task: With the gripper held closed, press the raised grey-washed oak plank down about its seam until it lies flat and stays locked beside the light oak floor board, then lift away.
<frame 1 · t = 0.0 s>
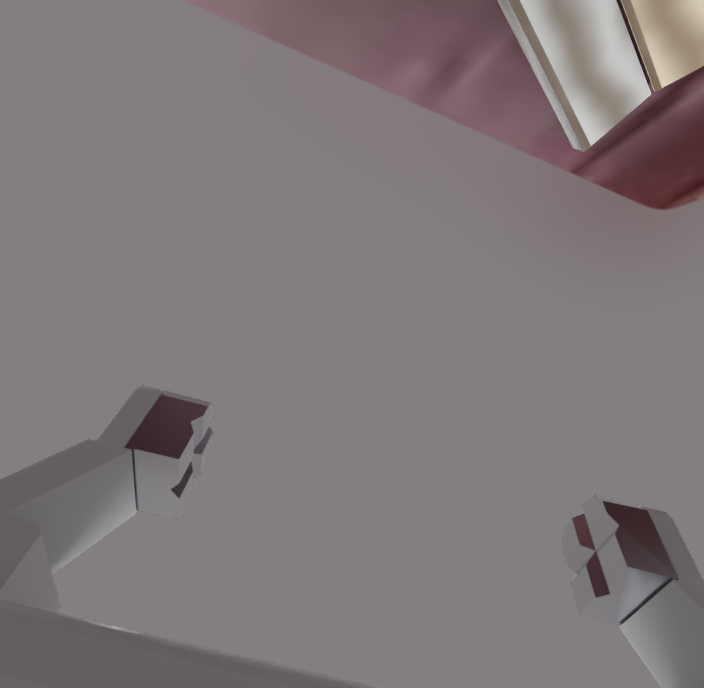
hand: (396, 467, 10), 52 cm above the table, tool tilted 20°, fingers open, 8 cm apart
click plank: (568, 26, 45), point 3 cm above the table, hinge at 30.0°
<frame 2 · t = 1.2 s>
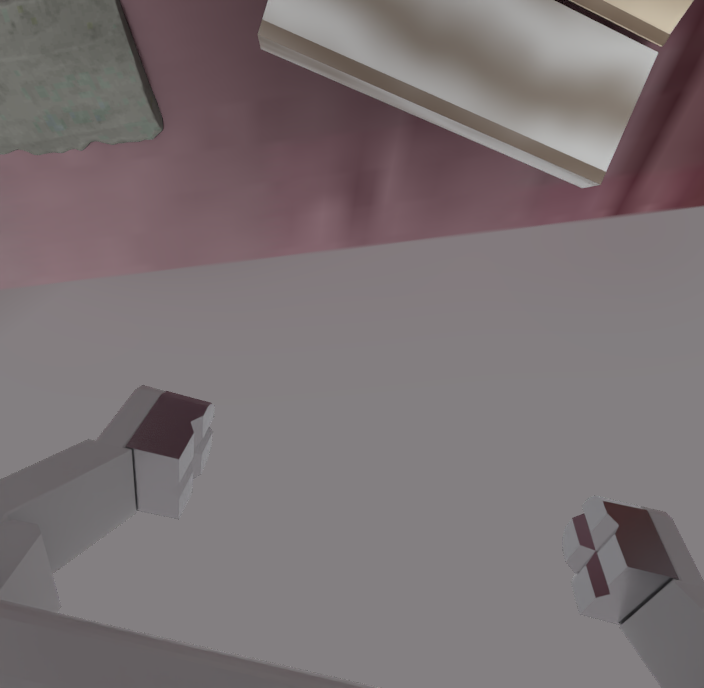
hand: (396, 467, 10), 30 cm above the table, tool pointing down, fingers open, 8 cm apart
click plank: (460, 50, 28), point 3 cm above the table, hinge at 30.0°
stone slab: (11, 84, 36), on the table
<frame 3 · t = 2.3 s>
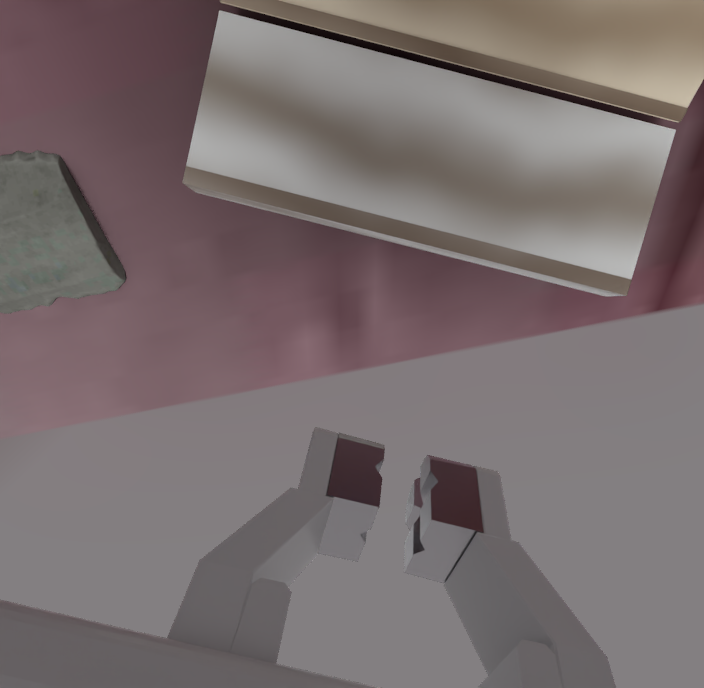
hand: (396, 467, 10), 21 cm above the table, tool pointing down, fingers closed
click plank: (424, 162, 24), point 3 cm above the table, hinge at 30.0°
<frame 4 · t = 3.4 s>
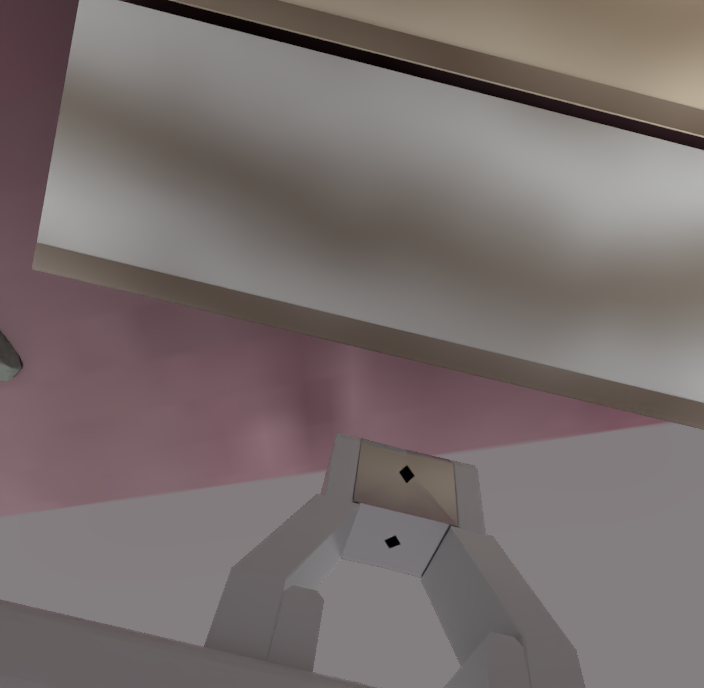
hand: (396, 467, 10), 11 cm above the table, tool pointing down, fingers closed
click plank: (418, 229, 15), point 3 cm above the table, hinge at 30.0°
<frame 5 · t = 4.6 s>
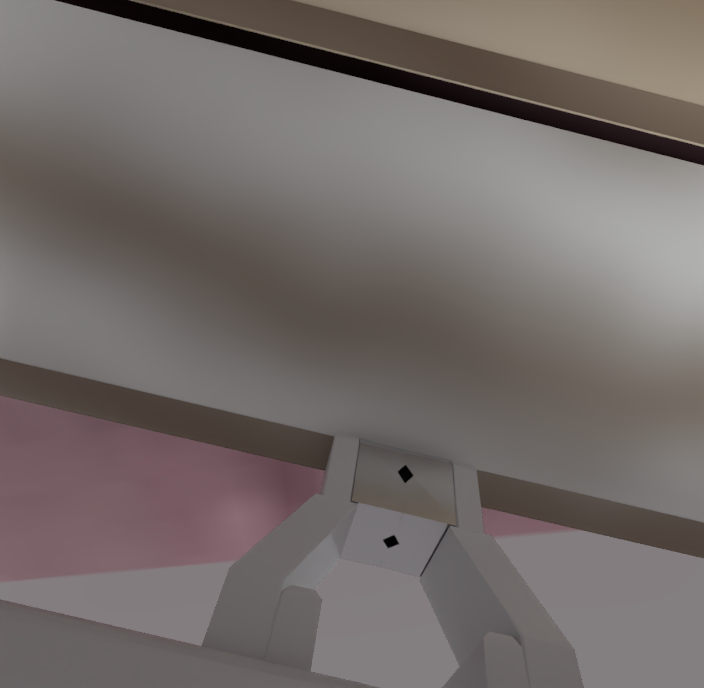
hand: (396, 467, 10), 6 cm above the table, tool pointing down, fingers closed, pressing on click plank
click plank: (423, 304, 11), point 3 cm above the table, hinge at 27.2°, touching gripper
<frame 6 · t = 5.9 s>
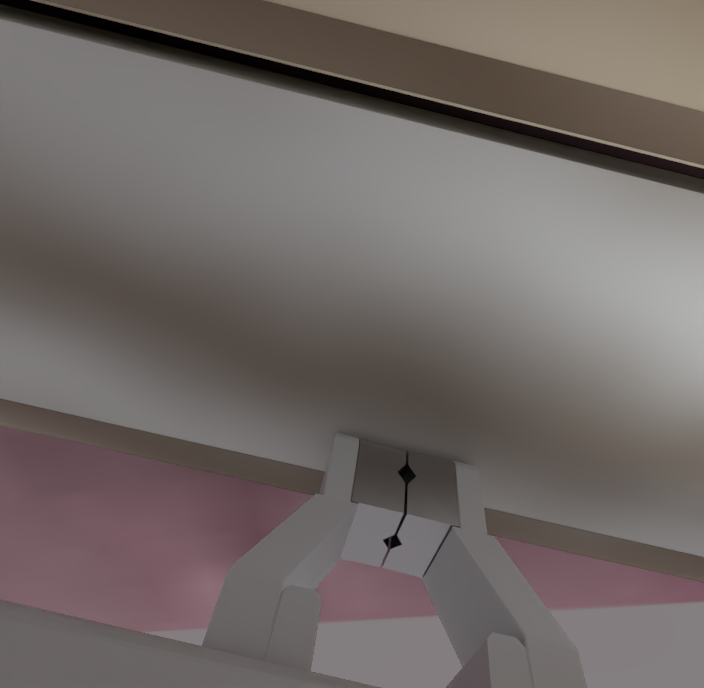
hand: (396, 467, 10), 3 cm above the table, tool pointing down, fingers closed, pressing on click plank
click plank: (416, 340, 10), point 1 cm above the table, hinge at 3.4°, touching gripper
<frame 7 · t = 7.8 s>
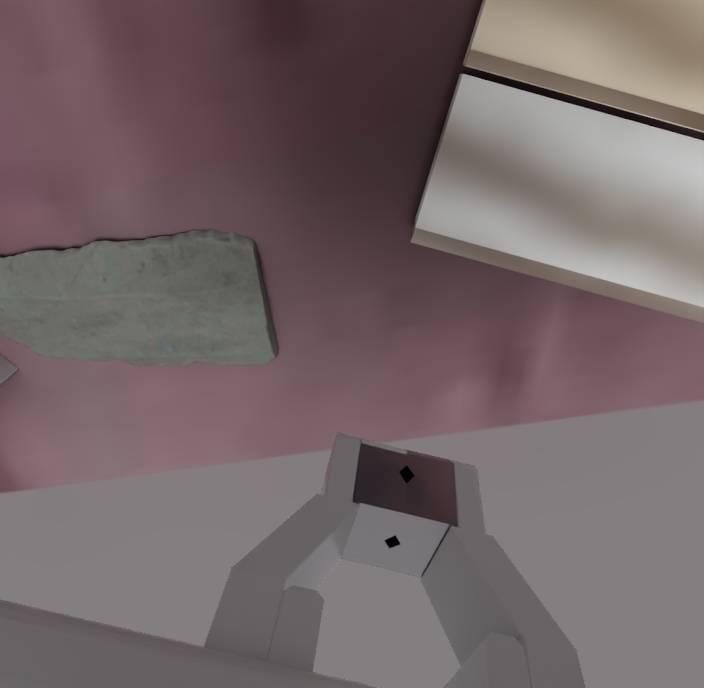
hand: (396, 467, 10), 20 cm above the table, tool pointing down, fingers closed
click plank: (642, 219, 24), point 1 cm above the table, hinge at 3.2°
stone slab: (124, 302, 34), on the table
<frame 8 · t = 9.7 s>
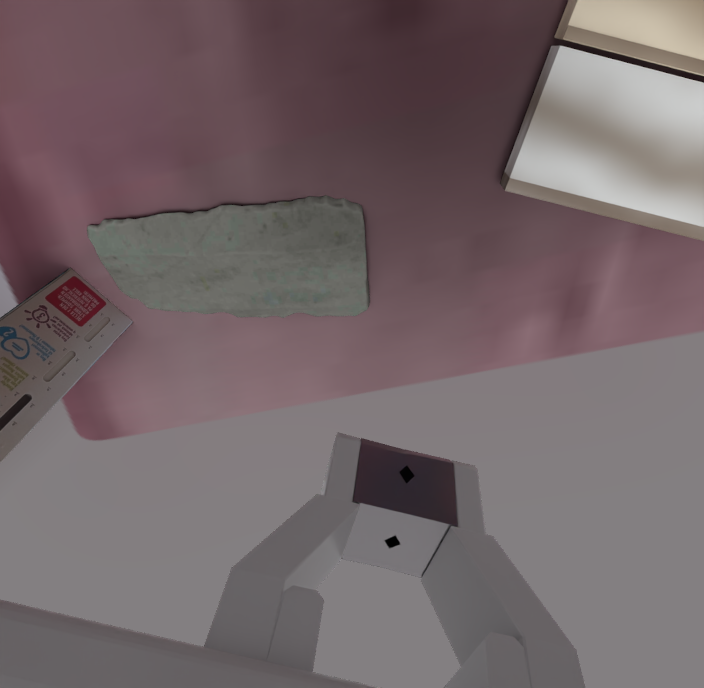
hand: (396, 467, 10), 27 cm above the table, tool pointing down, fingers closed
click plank: (700, 165, 30), point 1 cm above the table, hinge at 3.2°
stone slab: (234, 261, 39), on the table
juice carton: (84, 313, 44), on the table
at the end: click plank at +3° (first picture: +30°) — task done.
